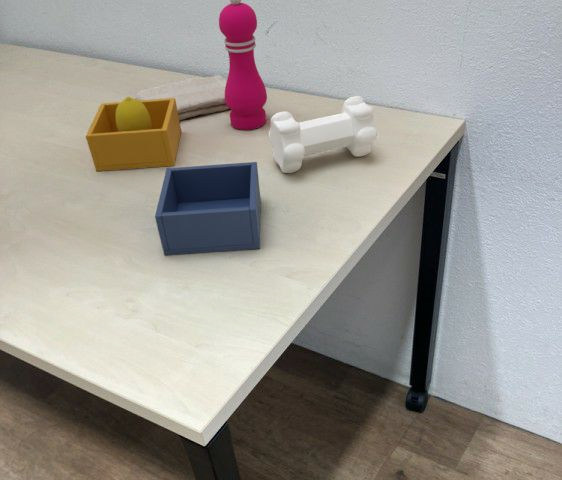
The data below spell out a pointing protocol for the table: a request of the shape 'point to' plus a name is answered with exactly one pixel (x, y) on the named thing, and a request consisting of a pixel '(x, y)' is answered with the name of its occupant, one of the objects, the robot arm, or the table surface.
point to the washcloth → (191, 95)
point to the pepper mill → (242, 67)
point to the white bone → (322, 134)
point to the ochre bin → (135, 138)
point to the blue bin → (209, 209)
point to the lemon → (132, 116)
